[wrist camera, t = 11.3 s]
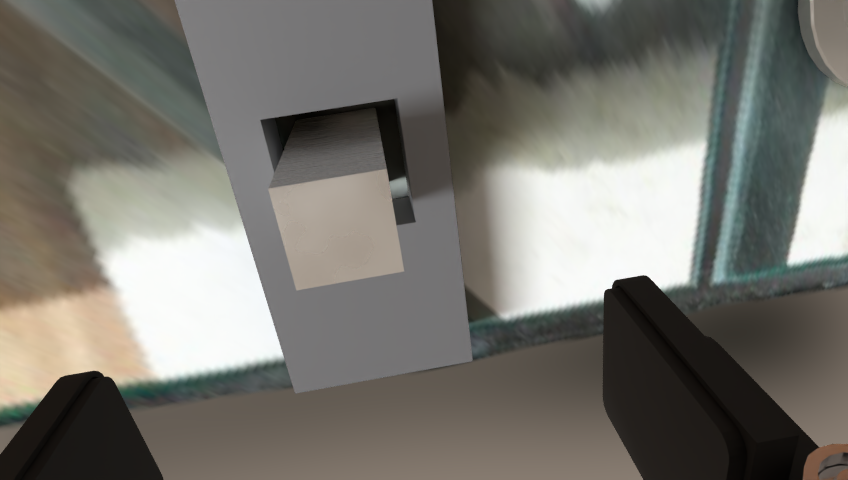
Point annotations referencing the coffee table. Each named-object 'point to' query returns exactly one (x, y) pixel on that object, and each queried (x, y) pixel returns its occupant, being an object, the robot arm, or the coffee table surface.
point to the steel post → (336, 201)
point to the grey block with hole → (415, 215)
